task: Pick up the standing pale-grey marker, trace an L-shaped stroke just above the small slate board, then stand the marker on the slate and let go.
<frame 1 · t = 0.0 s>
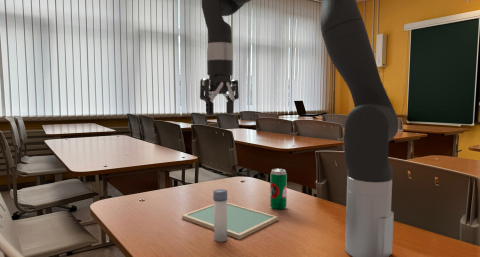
hand: (220, 114, 103), 29 cm above the table, fingers open, 8 cm apart
slate: (229, 219, 97), on the table
soda can: (278, 208, 107), on the table
marker: (220, 238, 84), on the table
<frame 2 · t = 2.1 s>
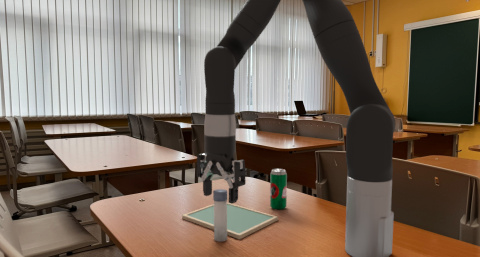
hand: (219, 198, 84), 10 cm above the table, fingers open, 8 cm apart
nothing on the table moved.
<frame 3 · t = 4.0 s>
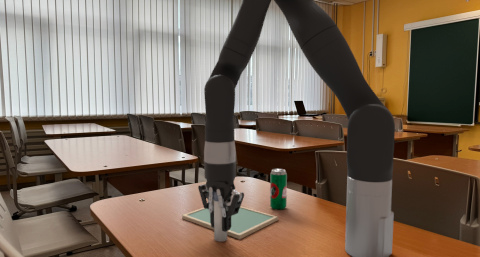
hand: (220, 228, 84), 3 cm above the table, fingers closed on marker, 3 cm apart
marker: (220, 238, 84), on the table, touching gripper
everything else where it was.
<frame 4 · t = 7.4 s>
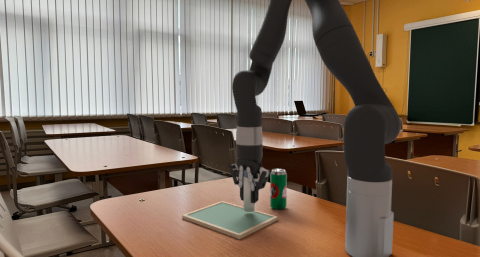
hand: (249, 200, 99), 5 cm above the table, fingers closed on marker, 3 cm apart
marker: (249, 210, 99), point 2 cm above the table, touching gripper
everything else where it was.
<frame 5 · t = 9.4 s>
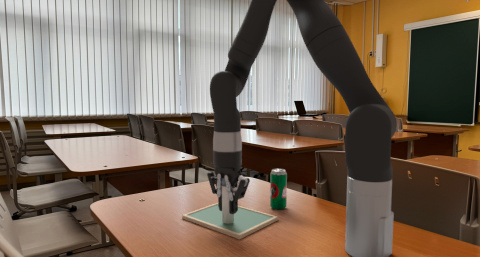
hand: (227, 211, 92), 4 cm above the table, fingers closed on marker, 3 cm apart
marker: (228, 221, 92), point 1 cm above the table, touching gripper
everything else where it was.
when the fingers open (4 cm above the table, at t = 11.1 s): marker stays where it is, resting on slate.
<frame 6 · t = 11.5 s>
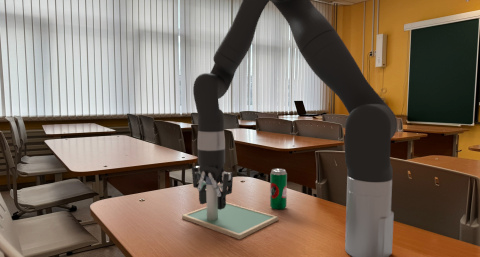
hand: (212, 205, 96), 4 cm above the table, fingers open, 6 cm apart
marker: (212, 218, 96), point 1 cm above the table, touching slate
everything else where it was.
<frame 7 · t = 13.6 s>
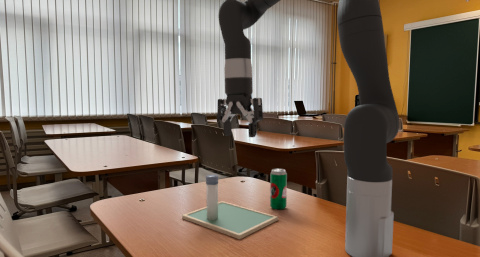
hand: (239, 136, 94), 24 cm above the table, fingers open, 8 cm apart
nothing on the table moved.
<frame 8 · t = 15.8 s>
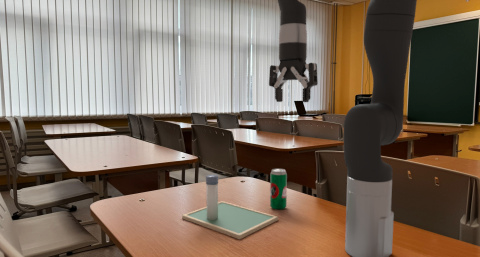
hand: (292, 102, 96), 33 cm above the table, fingers open, 8 cm apart
nothing on the table moved.
at the end: marker inside the target area on the slate (4.9 cm from its centre), point 0.8 cm above the slate's base; marker moved 12.2 cm from its start; the gripper is holding nothing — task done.
